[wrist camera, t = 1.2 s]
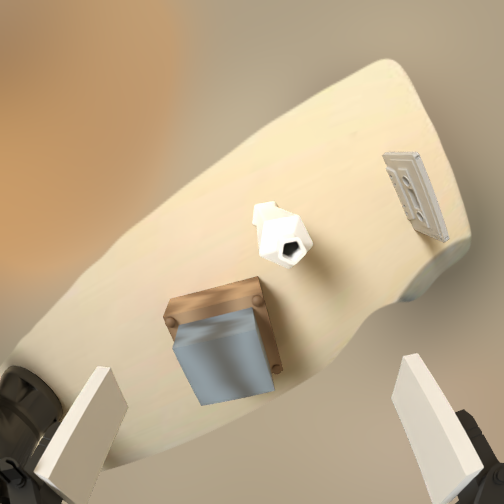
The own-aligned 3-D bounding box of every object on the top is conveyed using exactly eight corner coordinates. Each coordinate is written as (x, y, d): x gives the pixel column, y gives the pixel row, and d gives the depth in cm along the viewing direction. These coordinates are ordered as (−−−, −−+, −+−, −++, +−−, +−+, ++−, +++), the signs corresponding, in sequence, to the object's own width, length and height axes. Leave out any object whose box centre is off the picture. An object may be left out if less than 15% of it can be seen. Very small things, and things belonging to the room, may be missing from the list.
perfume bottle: (252, 238, 37) (266, 286, 23) (245, 203, 36) (256, 230, 21) (288, 231, 37) (325, 274, 23) (282, 196, 36) (318, 219, 21)
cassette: (378, 156, 35) (409, 156, 28) (388, 150, 35) (420, 149, 28) (411, 231, 38) (442, 246, 31) (420, 225, 38) (452, 238, 31)
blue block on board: (199, 367, 42) (194, 415, 32) (170, 298, 38) (154, 339, 29) (277, 349, 42) (289, 395, 32) (257, 276, 38) (267, 312, 29)
